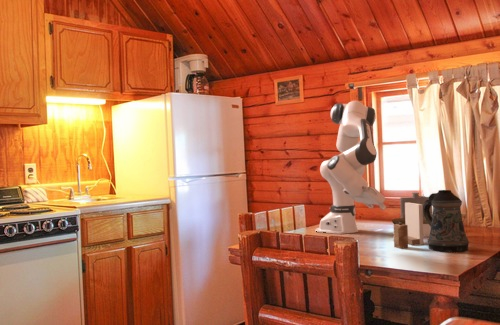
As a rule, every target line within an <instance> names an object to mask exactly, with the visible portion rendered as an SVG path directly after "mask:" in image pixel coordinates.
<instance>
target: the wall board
mask: <svg viewBox="0 0 500 325" xmlns="http://www.w3.org/2000/svg"><path fill="white" fill-rule="evenodd" d="M405 225H408V246H419V245H421V246H422V245H424V236H423V204H416V203H405Z"/></svg>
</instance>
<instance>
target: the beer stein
mask: <svg viewBox="0 0 500 325" xmlns="http://www.w3.org/2000/svg"><path fill="white" fill-rule="evenodd" d="M428 197H429V200H426V201H425V202H424V205H423V214H424V217H425V219H426V221H427V222H428V224H429V225H430V226H431V230H430V235H429V236H428V238H427V245H428V249H429V250H430V251H433V252H439V253H451V252H452V253H453V254H454V252H455V253H456V252H457V253H465V252H467V251H469V244H470V241H469V239H468V237H467V234H466V231H465V226H464V222H463V220H464V219H463V218H462V214H461V213H462V209H461V208H462V204H463V200H461V198H460V197H458V196H457V195H455V194H454V193H453V191H452V190H451V189H440V190H438V192H435V193H433V192H432V193H431V194H429V196H428ZM430 206H432V217H431V215H430V211H429V210H430Z"/></svg>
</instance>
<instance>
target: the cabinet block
mask: <svg viewBox="0 0 500 325" xmlns="http://www.w3.org/2000/svg"><path fill="white" fill-rule="evenodd" d="M393 247H394V248H396V249H399V250H400V249H409V244H408V225H404V224H402V222H399V224H393Z"/></svg>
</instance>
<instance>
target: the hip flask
mask: <svg viewBox="0 0 500 325" xmlns="http://www.w3.org/2000/svg"><path fill="white" fill-rule="evenodd" d="M411 195H412V196H405V197H400V198H399V199H400V218H405V203H416V204H423V205H424V202H425V201H426V200H429V196H424V195H423V196H422V195H420V192H415V191H414V192H412V193H411ZM429 211H430V215H431V217H432V214H433V206H430V210H429ZM423 218H425V217H424V214H423Z"/></svg>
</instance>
